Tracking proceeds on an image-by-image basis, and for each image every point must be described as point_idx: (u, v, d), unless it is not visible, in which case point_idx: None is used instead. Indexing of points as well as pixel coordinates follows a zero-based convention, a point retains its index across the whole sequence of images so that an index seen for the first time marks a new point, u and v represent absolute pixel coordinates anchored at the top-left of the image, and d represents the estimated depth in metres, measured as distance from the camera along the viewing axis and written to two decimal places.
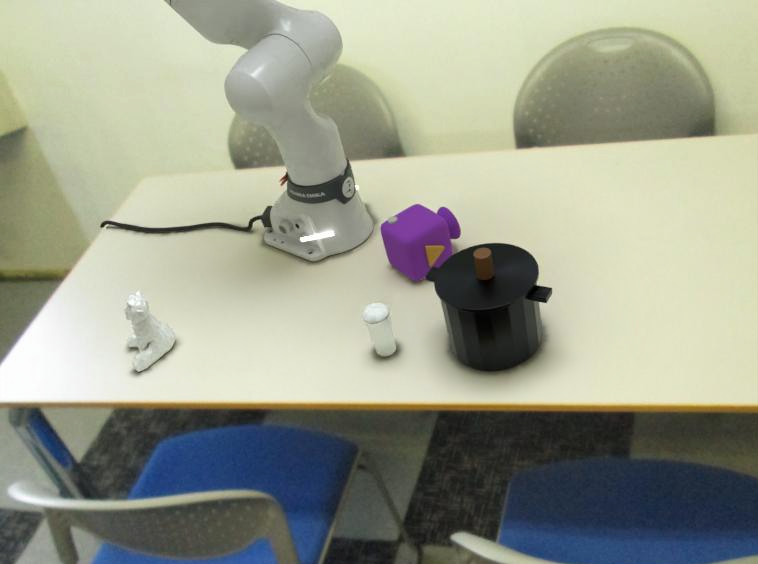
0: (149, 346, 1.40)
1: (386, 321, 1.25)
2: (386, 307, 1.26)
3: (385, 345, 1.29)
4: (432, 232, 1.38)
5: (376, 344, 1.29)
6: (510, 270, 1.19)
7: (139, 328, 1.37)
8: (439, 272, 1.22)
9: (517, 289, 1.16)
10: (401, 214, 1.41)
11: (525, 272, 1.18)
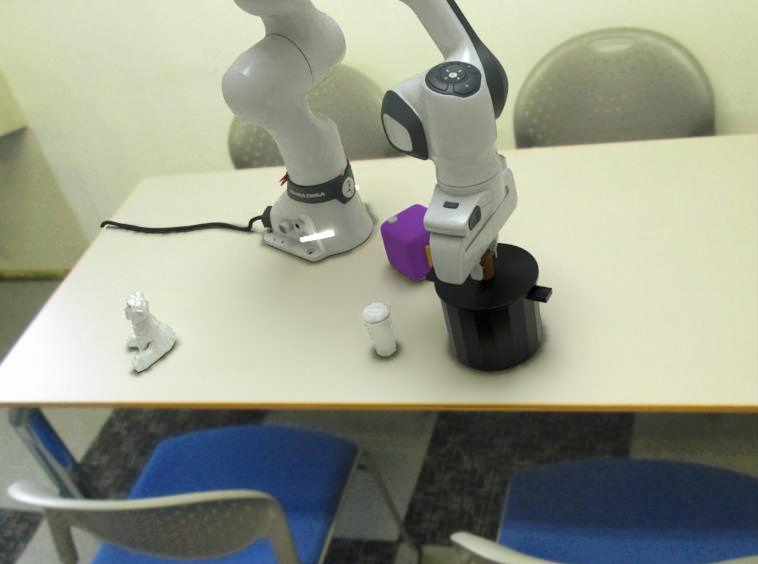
0: (149, 346, 1.40)
1: (386, 321, 1.25)
2: (386, 307, 1.26)
3: (385, 345, 1.29)
4: None
5: (376, 344, 1.29)
6: (510, 270, 1.19)
7: (139, 328, 1.37)
8: None
9: (517, 289, 1.16)
10: (401, 214, 1.41)
11: (525, 272, 1.18)
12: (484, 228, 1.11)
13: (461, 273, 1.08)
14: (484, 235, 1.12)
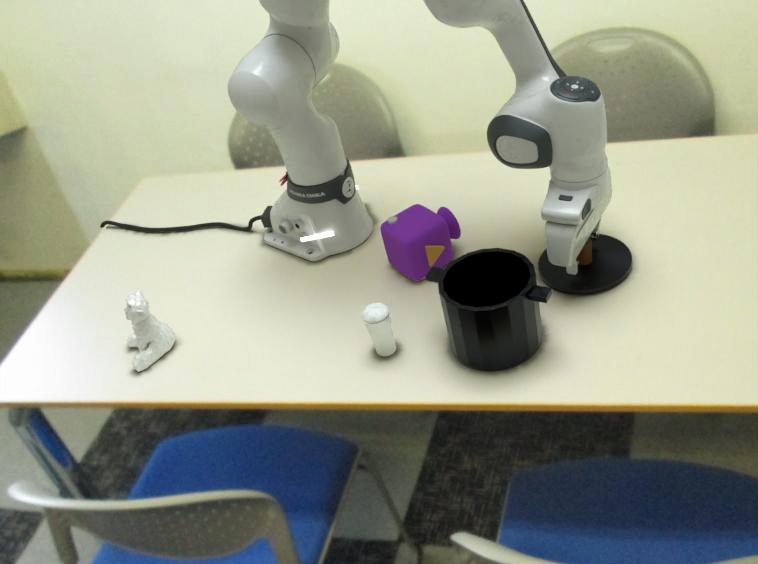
0: (149, 346, 1.40)
1: (386, 321, 1.25)
2: (386, 307, 1.26)
3: (385, 345, 1.29)
4: (432, 232, 1.38)
5: (376, 344, 1.29)
6: (606, 256, 1.36)
7: (139, 328, 1.37)
8: (542, 259, 1.39)
9: (614, 273, 1.33)
10: (401, 214, 1.41)
11: (620, 258, 1.35)
12: (588, 218, 1.28)
13: (572, 257, 1.24)
14: (588, 224, 1.28)
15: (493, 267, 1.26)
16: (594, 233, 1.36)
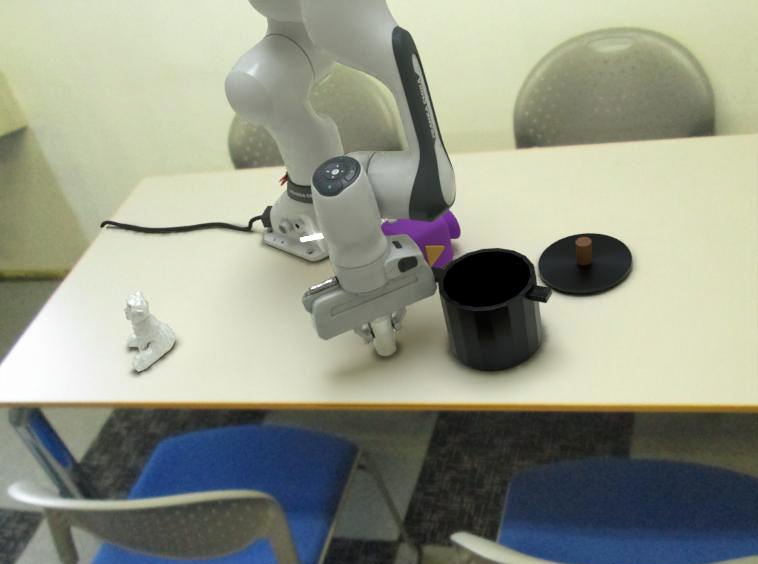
0: (149, 346, 1.40)
1: (387, 321, 1.25)
2: None
3: (386, 345, 1.29)
4: (432, 232, 1.38)
5: (376, 343, 1.29)
6: (606, 256, 1.36)
7: (139, 328, 1.37)
8: (542, 259, 1.39)
9: (614, 273, 1.33)
10: None
11: (620, 258, 1.35)
12: None
13: None
14: None
15: (493, 267, 1.26)
16: None
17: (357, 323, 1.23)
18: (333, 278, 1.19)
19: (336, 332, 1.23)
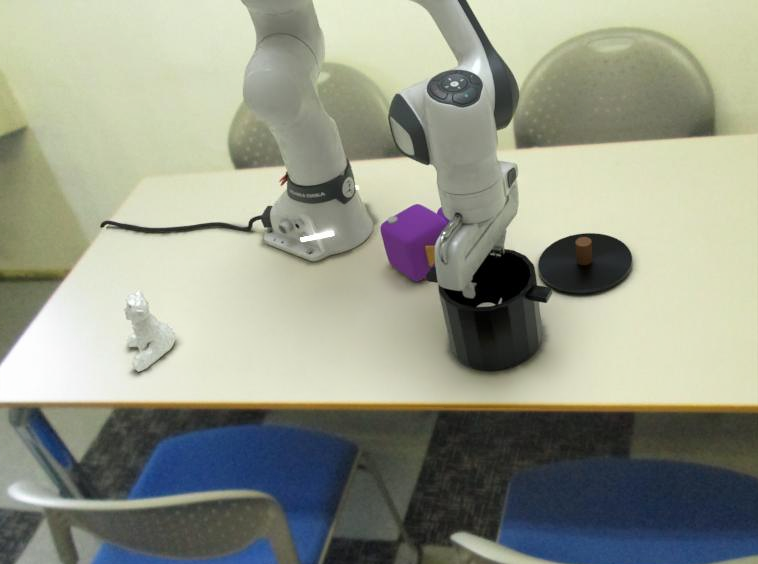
0: (149, 346, 1.40)
1: None
2: (492, 304, 1.20)
3: None
4: (432, 232, 1.38)
5: None
6: (606, 256, 1.36)
7: (139, 328, 1.37)
8: (542, 259, 1.39)
9: (614, 273, 1.33)
10: (401, 214, 1.41)
11: (620, 258, 1.35)
12: None
13: None
14: None
15: (493, 267, 1.26)
16: None
17: (479, 262, 1.13)
18: (456, 215, 1.07)
19: (469, 277, 1.11)
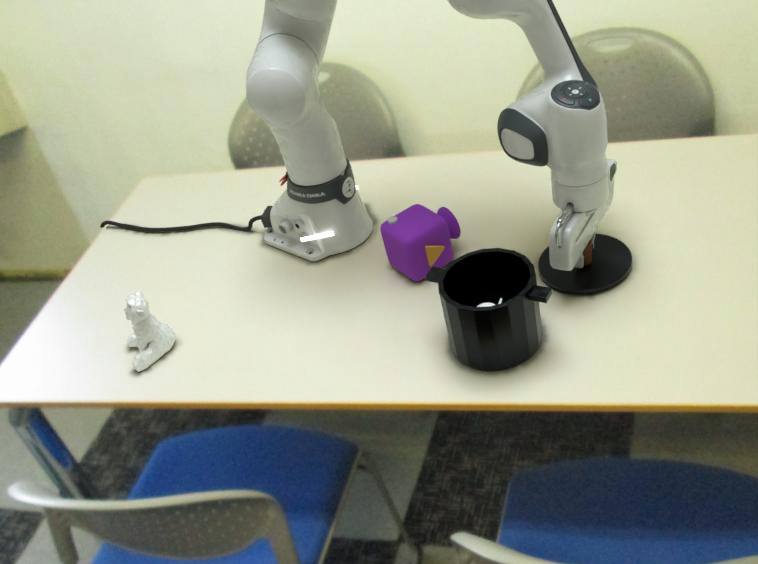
0: (149, 346, 1.40)
1: None
2: (492, 304, 1.20)
3: None
4: (432, 232, 1.38)
5: None
6: (606, 256, 1.36)
7: (139, 328, 1.37)
8: (542, 259, 1.39)
9: (614, 273, 1.33)
10: (401, 214, 1.41)
11: (620, 258, 1.35)
12: None
13: None
14: None
15: (493, 267, 1.26)
16: None
17: (584, 246, 1.29)
18: (569, 205, 1.23)
19: (576, 259, 1.27)
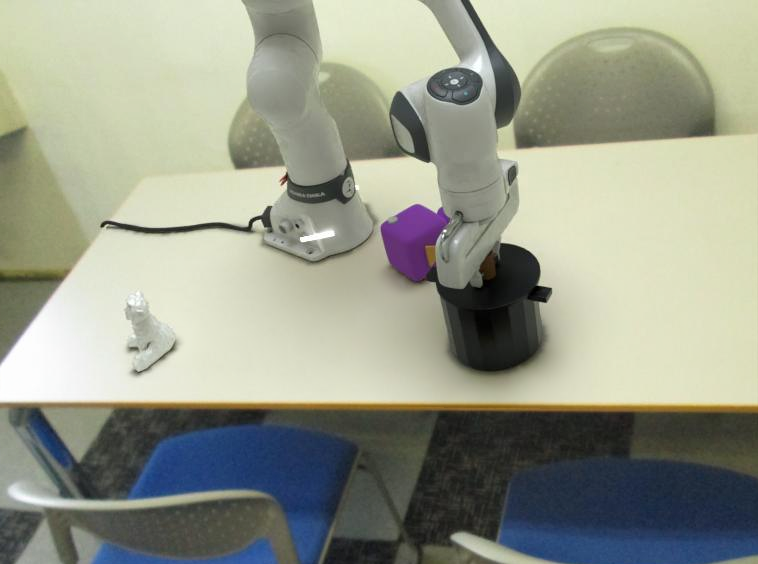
0: (149, 346, 1.40)
1: None
2: None
3: None
4: (432, 232, 1.38)
5: None
6: (512, 270, 1.19)
7: (139, 328, 1.37)
8: None
9: (519, 289, 1.16)
10: (401, 214, 1.41)
11: (527, 272, 1.18)
12: None
13: None
14: None
15: None
16: None
17: (480, 260, 1.12)
18: (457, 213, 1.07)
19: (470, 275, 1.11)
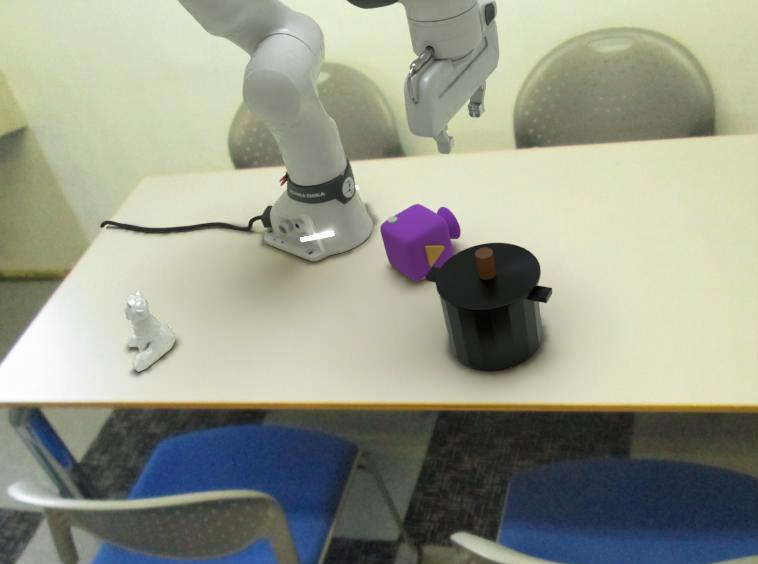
0: (149, 346, 1.40)
1: None
2: None
3: None
4: (432, 232, 1.38)
5: None
6: (512, 270, 1.19)
7: (139, 328, 1.37)
8: (441, 272, 1.22)
9: (519, 289, 1.16)
10: (401, 214, 1.41)
11: (527, 272, 1.18)
12: None
13: None
14: None
15: None
16: None
17: (455, 108, 1.02)
18: (428, 48, 0.97)
19: (443, 123, 1.00)
